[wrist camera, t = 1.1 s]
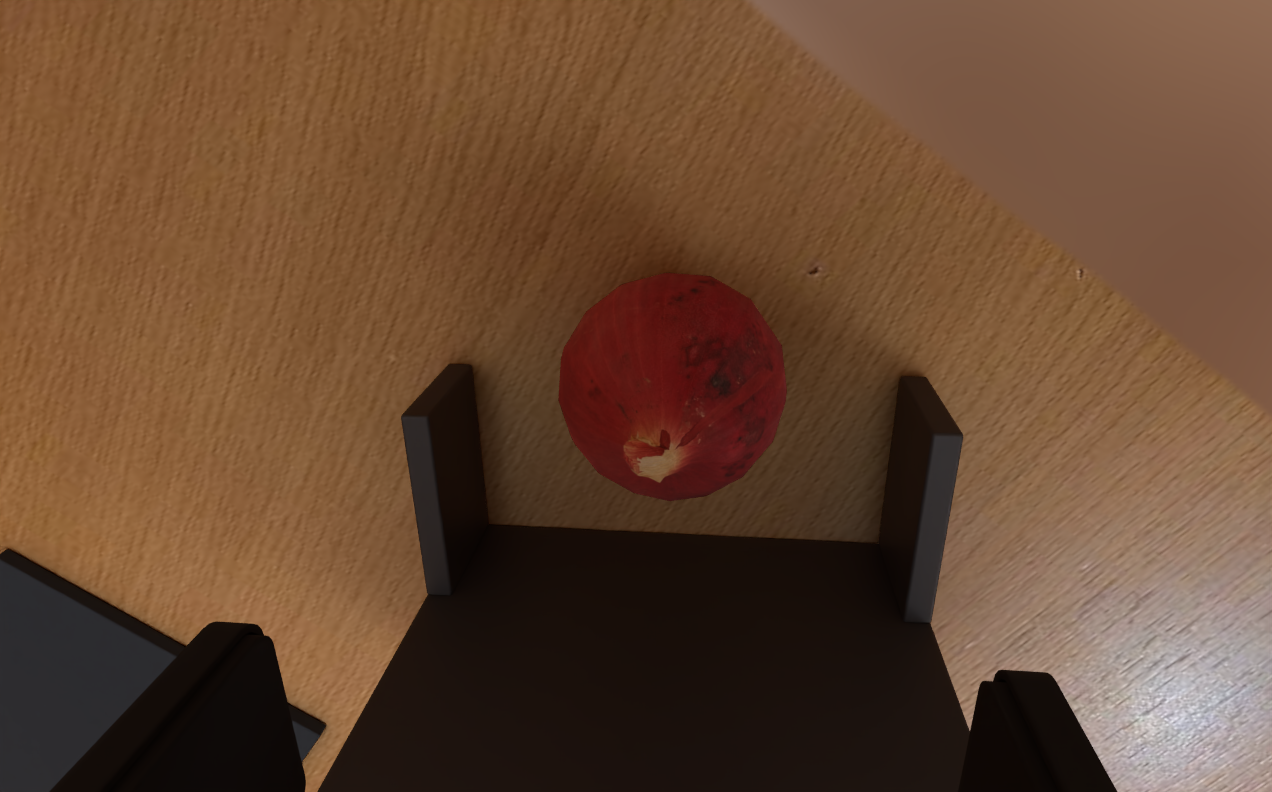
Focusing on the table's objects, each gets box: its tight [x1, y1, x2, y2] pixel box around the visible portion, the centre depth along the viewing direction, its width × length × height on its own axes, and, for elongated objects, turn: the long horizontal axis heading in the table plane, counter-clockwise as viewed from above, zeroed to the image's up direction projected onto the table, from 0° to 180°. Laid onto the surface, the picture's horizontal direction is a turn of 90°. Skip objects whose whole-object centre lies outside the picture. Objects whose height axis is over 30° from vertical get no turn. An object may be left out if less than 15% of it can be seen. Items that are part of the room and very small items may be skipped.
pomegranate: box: [558, 273, 787, 501], centre depth 20 cm, size 6×6×8 cm
